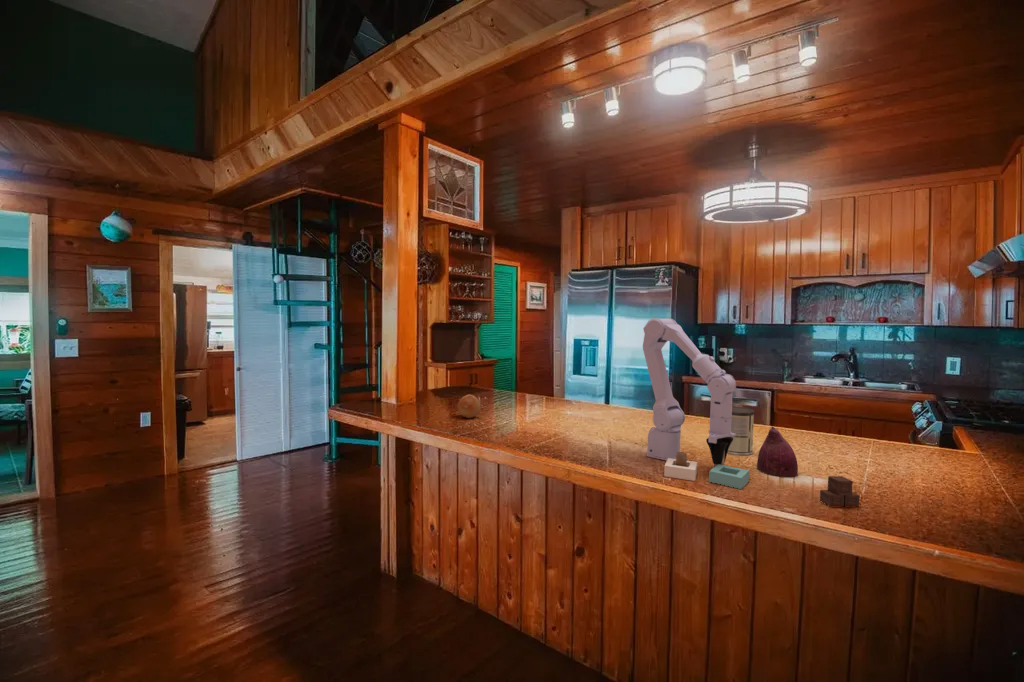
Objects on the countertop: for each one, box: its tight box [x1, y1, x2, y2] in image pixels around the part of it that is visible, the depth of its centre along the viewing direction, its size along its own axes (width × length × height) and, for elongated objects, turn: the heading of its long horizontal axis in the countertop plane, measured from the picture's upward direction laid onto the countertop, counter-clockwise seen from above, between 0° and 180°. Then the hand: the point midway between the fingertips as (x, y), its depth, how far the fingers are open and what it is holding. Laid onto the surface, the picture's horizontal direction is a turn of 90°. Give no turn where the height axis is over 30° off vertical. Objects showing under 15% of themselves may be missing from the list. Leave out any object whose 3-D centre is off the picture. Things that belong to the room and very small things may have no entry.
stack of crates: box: [819, 475, 860, 507], centre depth 114 cm, size 15×15×7 cm
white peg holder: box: [663, 458, 698, 482], centre depth 132 cm, size 8×8×3 cm
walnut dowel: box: [676, 451, 688, 467], centre depth 132 cm, size 3×3×6 cm
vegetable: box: [756, 425, 799, 478], centre depth 135 cm, size 10×10×15 cm
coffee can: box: [727, 405, 755, 456], centre depth 156 cm, size 10×10×14 cm
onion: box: [456, 393, 482, 419], centre depth 201 cm, size 10×10×10 cm
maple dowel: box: [713, 451, 726, 468], centre depth 136 cm, size 3×3×8 cm
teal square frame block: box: [708, 464, 750, 490], centre depth 127 cm, size 8×8×3 cm
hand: (718, 462), depth 136 cm, fingers closed on maple dowel, 3 cm apart
